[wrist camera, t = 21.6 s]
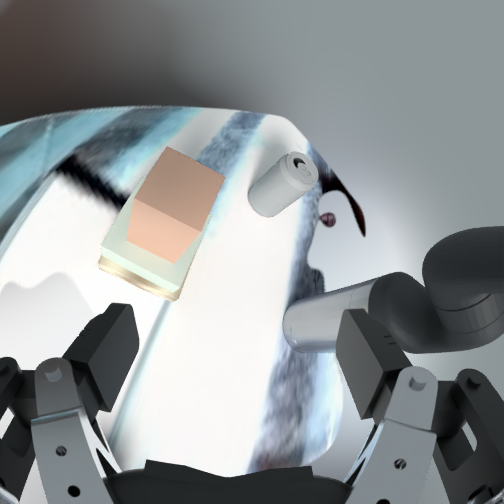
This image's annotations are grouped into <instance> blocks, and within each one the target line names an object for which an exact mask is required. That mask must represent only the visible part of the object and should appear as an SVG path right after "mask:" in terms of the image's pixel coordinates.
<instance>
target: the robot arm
mask: <svg viewBox="0 0 504 504" xmlns="http://www.w3.org/2000/svg"><path fill="white" fill-rule="evenodd" d="M422 275H423V280H424V284H425V287H426V288H425V287H424V286H423V285H421V284H420V283H419V282H418V281H416V280H415V279H414V278H413V277H411V276H410V275H408V274H406V273H403V272H394V273H390V274H387V275H384V276H381V277H378V278H374V279H371V280H368V281H365V282H362V283H358V284H355V285H351V286H348V287H344V288H341V289H337V290H334V291H330V292H326V293H323V294H319V295H315V296H311V297H307V298H303V299H300V300H297V301H295V302H293V303H292V304H291V305H290V306H289V307H288V309H287V311H286V313H285V316H284V320H283V331H284V335H285V338H286V340H287V342H288V343H289V345H290V346H291V347H292V348H293V349H294V350H296V351H298V352H301V353H336V356H337V359H338V361H339V364H340V366H341V369H342V371H343V374H344V376H345V379H346V381H347V384H348V386H349V389H350V392H351V394H352V397H353V399H354V402H355V404H356V407H357V410H358V412H359V415H360V417H361V420H363V419H368V418H373V419H374V422H375V423H374V425H373V426H372V428H371V431H370V433H369V435H368V437H367V439H366V442H365V443H364V445H363V447H362V450H361V452H360V453H359V455H358V457H357V459H356V462H355V463H354V465H353V467H352V468H351V470H350V472H349V473H348V475H347V476H346V478H345V479H344V481H343V482H341V481H339V480H336V479H332V478H329V477H324V476H318V475H313V472H312V467H311V466H303V467H292V468H278V469H268V470H264V471H260V472H255V473H251V474H246V475H241V476H235V477H222V476H218V475H214V474H211V473H207V472H204V471H201V470H197V469H194V468H191V467H188V466H185V465H177V464H170V463H164V462H158V461H153V460H147V459H146V463H145V467H144V469H134V470H128V471H123V472H122V470H121V469H120V467H119V466H118V464H117V462H116V461H115V459H114V457H113V455H112V452H111V450H110V448H109V445H108V443H107V441H106V438H105V436H104V433H103V431H102V428H101V426H100V423H99V420H98V418H97V416H96V415H97V413H98V411H99V410H102V411H106V412H111V410H112V408H113V405H114V403H115V401H116V399H117V396H118V394H119V392H120V390H121V387H122V385H123V383H124V381H125V378H126V376H127V374H128V372H129V370H130V368H131V366H132V363H133V361H134V359H135V357H136V355H137V353H138V350H139V335H138V331H137V326H136V322H135V317H134V312H133V308H132V306H131V305H130V304H122V303H111V304H110V305H109V307H108V308H107V309H106V310H105V312H104V313H103V314H99V315H98V316H96V317H95V318H93V319H91V320H90V321H89V323H88V324H87V325H86V326H85V328H84V330H82V331H81V333H80V334H79V336H78V337H77V338H76V339H75V340H74V342H73V343H72V344H71V346H70V347H69V348H68V350H67V351H66V352H65V353H64V355H63V356H62V358H58V357H57V358H50V359H47V360H45V361H43V362H42V363H41V364H39V366H38V367H37V368H36V370H21V369H20V367H19V365H18V363H17V361H16V360H15V359H14V358H11V357H3V358H0V420H1V418H2V416H3V415H4V413H5V411H6V410H7V408H9V409H10V411H11V412H12V413H13V415H14V417H13V419H12V421H11V423H10V425H9V426H8V428H7V430H6V432H5V434H4V436H3V438H2V440H1V439H0V504H19V501H20V497H21V495H22V491H23V489H24V486H25V483H26V480H27V478H28V475H29V472H30V469H31V467H32V464H33V462H34V459H35V457H36V460H37V464H38V469H39V472H40V477H41V480H42V484H43V488H44V491H45V494H46V498H47V501H48V504H417V503H418V501H419V498H420V495H421V492H422V489H423V486H424V483H425V480H426V477H427V473H428V470H429V466H430V462H431V459H432V456H433V458H434V461H435V463H436V466H437V468H438V471H439V474H440V476H441V479H442V482H443V485H444V487H445V490H446V493H447V496H448V499H449V502H450V504H504V401H503V400H502V399H501V397H500V395H499V394H498V393H497V391H496V390H495V388H494V387H493V386H492V385H491V383H490V382H489V380H488V379H487V377H486V376H485V375H484V374H482V373H481V372H479V371H477V370H475V369H464V370H462V371H460V372H459V374H458V376H457V378H456V379H455V381H437V379H436V377H435V376H434V375H433V374H432V373H431V372H430V371H428V370H427V369H425V368H422V367H416V366H413V365H412V364H411V362H410V361H409V359H408V358H407V357H406V355H405V354H404V352H403V351H405V352H408V353H413V354H423V353H441V352H453V351H454V352H455V351H464V350H470V349H474V348H478V347H481V346H484V345H486V344H489V343H490V342H492V341H494V340H496V339H497V338H499V337H500V336H501V335H502V334H503V333H504V226H495V227H481V228H472V229H467V230H464V231H460V232H457V233H454V234H452V235H449V236H448V237H445V238H444V239H442V240H441V241H439V242H438V243H436V244H435V245H434V246H433V247H432V248H431V249H430V250H429V252H428V253H427V254H426V256H425V259H424V262H423V267H422ZM402 350H403V351H402ZM466 422H467V423H468V424H469V426H470V428H471V430H472V432H473V434H474V435H475V437H476V440H477V447H476V450H475V452H474V451H473V449H472V447H471V445H470V443H469V441H468V439H467V437H466V435H465V433H464V431H463V429H462V427H463V426H464V425H465V423H466Z"/></svg>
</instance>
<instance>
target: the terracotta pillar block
mask: <svg viewBox="0 0 504 504" xmlns="http://www.w3.org/2000/svg"><path fill="white" fill-rule="evenodd" d="M224 179H225V177H224V176H223V175H221V174H219V173H217V172H215V171H213V170H212V169H210V168H208V167H206V166H204V165H202V164H200V163H198V162H197V161H195V160H193V159H191V158H189V157H187V156H185V155H183V154H181V153H179V152H177V151H175V150H173V149H172V148H170V147H168V146H167V147H166V149H165V150H164V152H163V153H162V155H161V156H160V158H159V159H158V160H157V162H156V163H155V165H154V167H153V168H152V170H151V171H150V173H149V174H148V176H147V177H146V179H145V181H144V182H143V184H142V185H141V187H140V189H139V190H138V192H137V194H136V195H135V197H134V200H133V205H132V210H131V216H130V221H129V227H128V233H127V239H126V241H128V242H130V243H132V244H134V245H136V246H138V247H140V248H142V249H144V250H146V251H148V252H150V253H153V254H155V255H157V256H159V257H161V258H163V259H165V260H167V261H169V262H171V263H173V264H174V263H175V262H176V261H177V260H178V259H179V257H180V256H181V255H182V254H183V253H184V251H185V250H186V249H187V248H188V247H189V246H190V244H191V243H192V242H193V241H194V240H195V239H196V237H197V236H198V235H199V234H200V233H201V231H202V229H203V226H204V224H205V222H206V219H207V217H208V215H209V212H210V210H211V208H212V206H213V203H214V201H215V199H216V197H217V194H218V192H219V190H220V188H221V186H222V183H223V181H224Z"/></svg>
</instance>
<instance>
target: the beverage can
mask: <svg viewBox="0 0 504 504" xmlns="http://www.w3.org/2000/svg"><path fill="white" fill-rule="evenodd" d="M317 180H318V171H317V168H316V166H315V164H314V163H313V162H312V160H311V159H310V158H309V157H307V156H306V155H304V154H303V153H300V152H291V153H290V154H287V155H284V156H283V157H282V158H281V159H280V160H279V161H278V162H277V163H276V164H275V165H274V166H273V167H272V168H271V169H270V170H269V171H268V172H267V173H266V174H265V175H263V176H262V177H261V178H260V179H259V180H258V181H257V182H256V183H255V184H254V185H253V186H252V187H251V189H250V190H249V193H248V199H249V203H250V205H251V207H252V208H253V210H254V211H255V212H256V213H258V214H259V215H261V216H264V217H273V216H275V215H277V214H278V213H280V212H281V211H282V210H284V209H285V208H286V207H288V206H289V205H290V204H292V203H293V202H295V201H296V200H297V199H299V198H300V197H301V196H303V195H304V194H306V193H307V192H308V191H310V190H311V189H312V188H313V187H314V185H315V183H316V182H317Z"/></svg>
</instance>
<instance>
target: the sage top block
mask: <svg viewBox="0 0 504 504" xmlns="http://www.w3.org/2000/svg"><path fill="white" fill-rule="evenodd" d="M145 179H146V178H144V177H142V179H141V180H140V182H139V183H138V185H137V186H136V188H135V189H134V191H133V192H132V194H131V195H130V197H129V198H128V200H127V202H126V203H125V205H124V206H123V208H122V210H121V211H120V213H119V214H118V216H117V218H116V219H115V221H114V223H113V224H112V226H111V228H110V230H109V231H108V233H107V235H106V236H105V238H104V240H103V242H102V244H101V252H102V256H104V257H105V258H107V259H109V260H111V261H112V262H114V263H116V264H118V265H120V266H122V267H124V268H125V269H127V270H129V271H131V272H133V273H135V274H137V275H139V276H140V277H142V278H144V279H146V280H148V281H150V282H152V283H154V284H156V285H158V286H160V287H162V288H164V289H166V290H168V291H170V292H172V293H173V292H175V291H176V290H177V289H179V288H180V286H181V284H182V282H183V279H184V277H185V275H186V273H187V270H188V268H189V266H190V263H191V261H192V259H193V257H194V254H195V252H196V250H197V248H198V245H199V243H200V241H201V239H202V237H203V234H204V232H205V230H206V228H207V226H208V224H209V222H210V219H211V217H212V214H210V213H209V215H208V217H207V219H206V222H205V224H204V226H203V229H202V231H201V233H200V234H199V235H198V236H197V237H196V239H195V240H194V241H193V242H192V243H191V244H190V246H189V247H188V248H187V249H186V250H185V251H184V253H183V254H182V255H181V256H180V257H179V259H178V260H177V261H176V262H175V263H174V264H173V263H171V262H169V261H167V260H165V259H163V258H161V257H159V256H157V255H155V254H153V253H150V252H148V251H146V250H144V249H142V248H140V247H138V246H136V245H134V244H132V243H130V242H128V241H126V239H127V233H128V227H129V221H130V216H131V210H132V205H133V200H134V197H135V195H136V194H137V192H138V190H139V189H140V187H141V185H142V184H143V182H144V181H145Z"/></svg>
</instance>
